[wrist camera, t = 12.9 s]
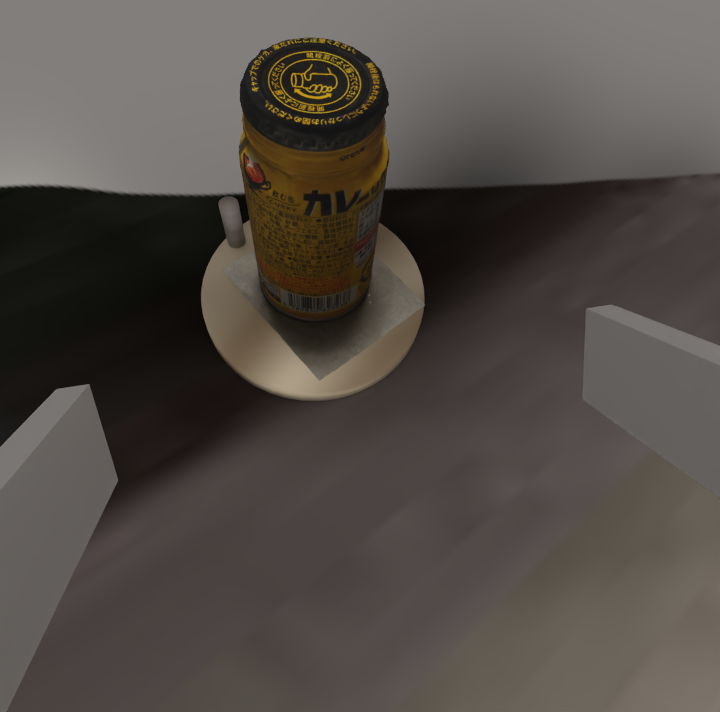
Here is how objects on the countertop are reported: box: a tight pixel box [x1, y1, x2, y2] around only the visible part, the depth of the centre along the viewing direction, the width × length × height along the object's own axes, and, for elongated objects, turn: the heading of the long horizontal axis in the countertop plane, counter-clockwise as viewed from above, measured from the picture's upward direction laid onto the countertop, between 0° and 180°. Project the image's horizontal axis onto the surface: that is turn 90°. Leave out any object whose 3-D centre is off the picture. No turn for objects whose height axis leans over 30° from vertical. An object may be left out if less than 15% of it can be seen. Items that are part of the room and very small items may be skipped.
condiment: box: [222, 38, 425, 381], centre depth 24 cm, size 7×8×12 cm
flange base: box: [201, 196, 424, 401], centre depth 28 cm, size 12×12×4 cm
